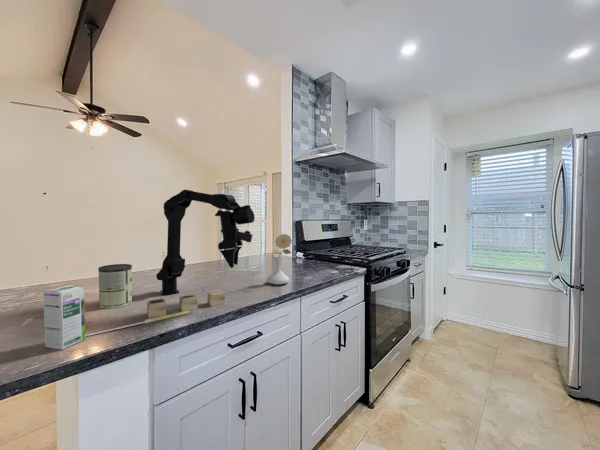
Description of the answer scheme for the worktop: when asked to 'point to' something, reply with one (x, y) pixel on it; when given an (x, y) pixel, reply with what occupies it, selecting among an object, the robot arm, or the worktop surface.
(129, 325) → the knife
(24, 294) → the worktop surface
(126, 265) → the coffee can
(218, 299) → the plain block
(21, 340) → the worktop surface
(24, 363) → the worktop surface
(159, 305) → the marked block 1
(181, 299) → the marked block 2
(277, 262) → the flower in vase
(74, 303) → the syrup box
